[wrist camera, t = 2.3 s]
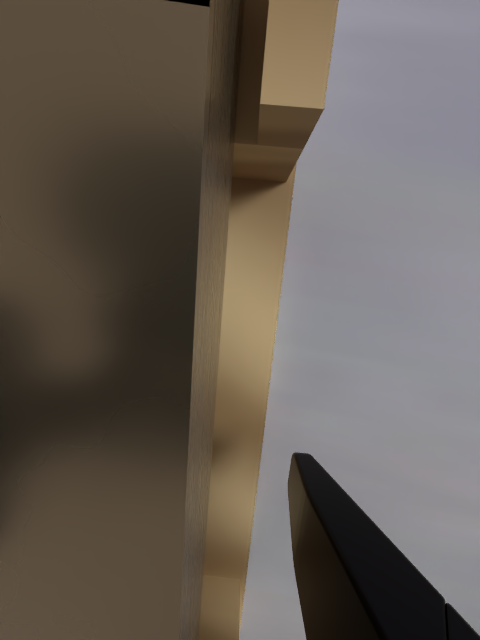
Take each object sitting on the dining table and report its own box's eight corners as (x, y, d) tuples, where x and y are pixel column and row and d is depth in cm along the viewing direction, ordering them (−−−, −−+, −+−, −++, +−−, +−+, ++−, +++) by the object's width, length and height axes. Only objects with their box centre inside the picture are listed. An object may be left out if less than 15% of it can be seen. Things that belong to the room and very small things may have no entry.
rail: (191, 736, 9) (162, 972, 6) (104, 726, 9) (33, 956, 6) (251, -101, 4) (256, -947, 1) (62, -115, 4) (-376, -975, 1)
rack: (238, 628, 12) (231, 840, 8) (107, 614, 12) (28, 816, 8) (310, 25, 7) (407, -347, 3) (84, 8, 7) (-177, -377, 3)
